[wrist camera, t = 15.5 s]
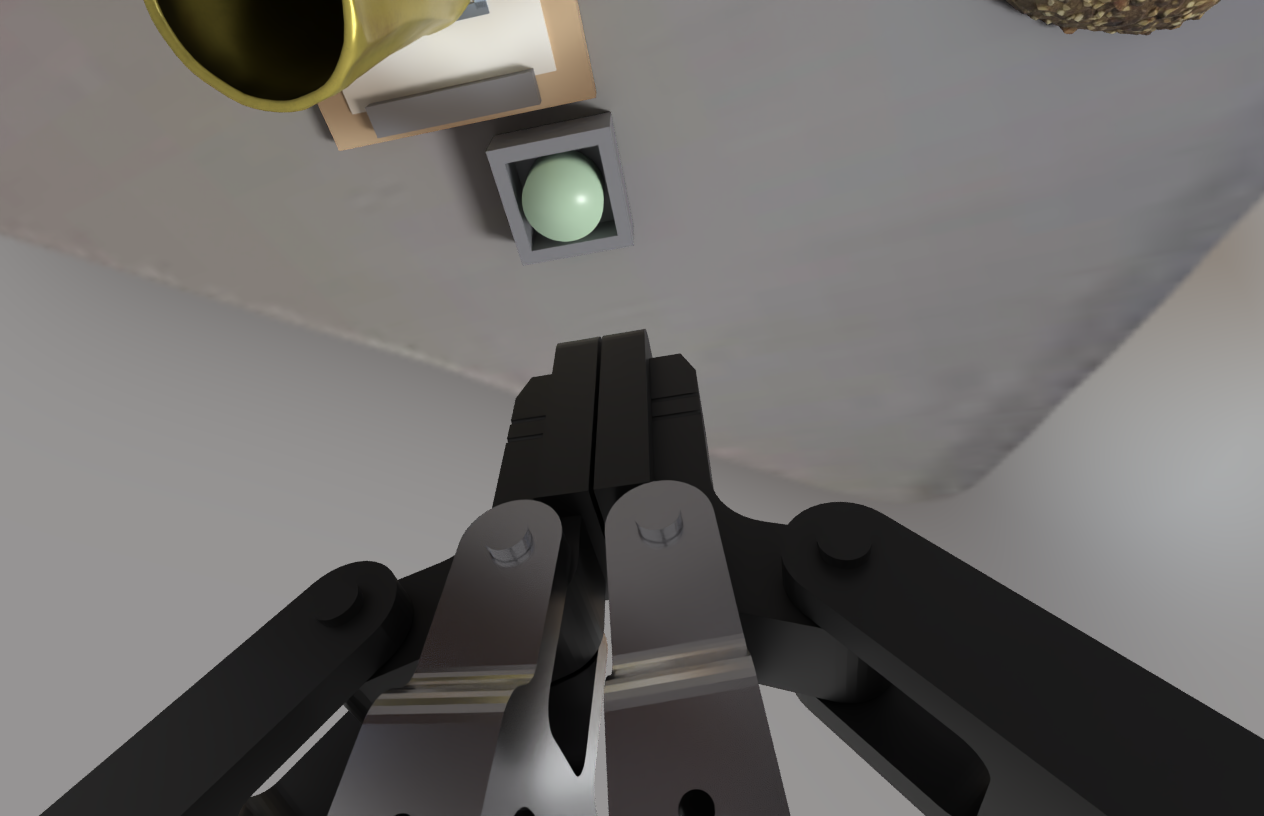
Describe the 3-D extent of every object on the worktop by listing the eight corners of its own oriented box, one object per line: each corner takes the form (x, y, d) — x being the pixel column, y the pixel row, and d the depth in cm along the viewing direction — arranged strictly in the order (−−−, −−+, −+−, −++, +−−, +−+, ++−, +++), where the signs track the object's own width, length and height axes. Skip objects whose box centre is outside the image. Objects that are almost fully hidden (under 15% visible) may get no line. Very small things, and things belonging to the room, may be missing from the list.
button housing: (494, 135, 33) (485, 151, 31) (610, 111, 32) (609, 126, 30) (528, 245, 36) (522, 265, 34) (633, 225, 36) (633, 245, 34)
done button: (517, 157, 33) (511, 171, 31) (594, 141, 32) (593, 155, 31) (539, 231, 35) (534, 247, 33) (611, 218, 35) (610, 233, 33)
